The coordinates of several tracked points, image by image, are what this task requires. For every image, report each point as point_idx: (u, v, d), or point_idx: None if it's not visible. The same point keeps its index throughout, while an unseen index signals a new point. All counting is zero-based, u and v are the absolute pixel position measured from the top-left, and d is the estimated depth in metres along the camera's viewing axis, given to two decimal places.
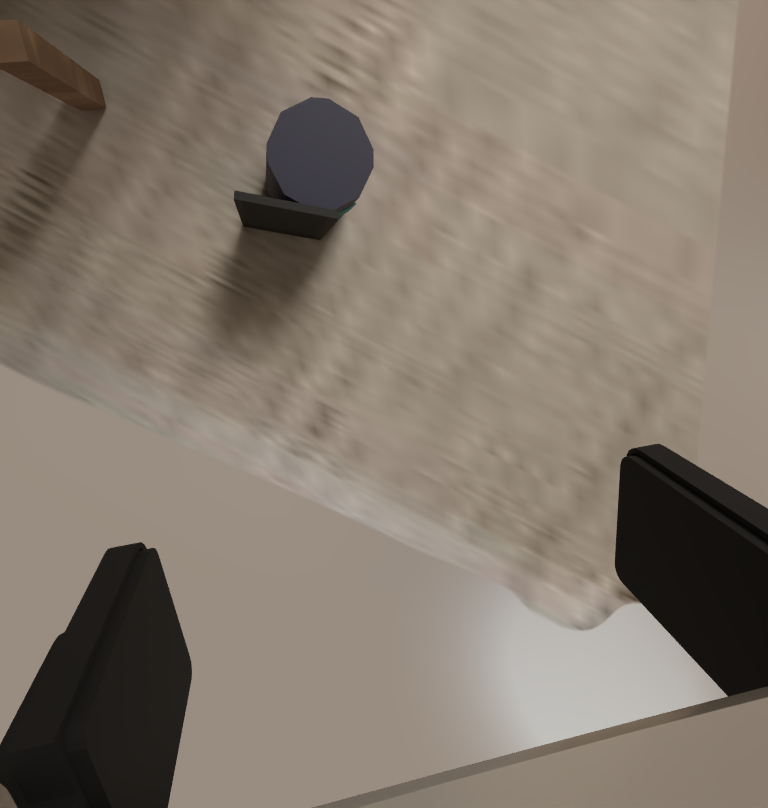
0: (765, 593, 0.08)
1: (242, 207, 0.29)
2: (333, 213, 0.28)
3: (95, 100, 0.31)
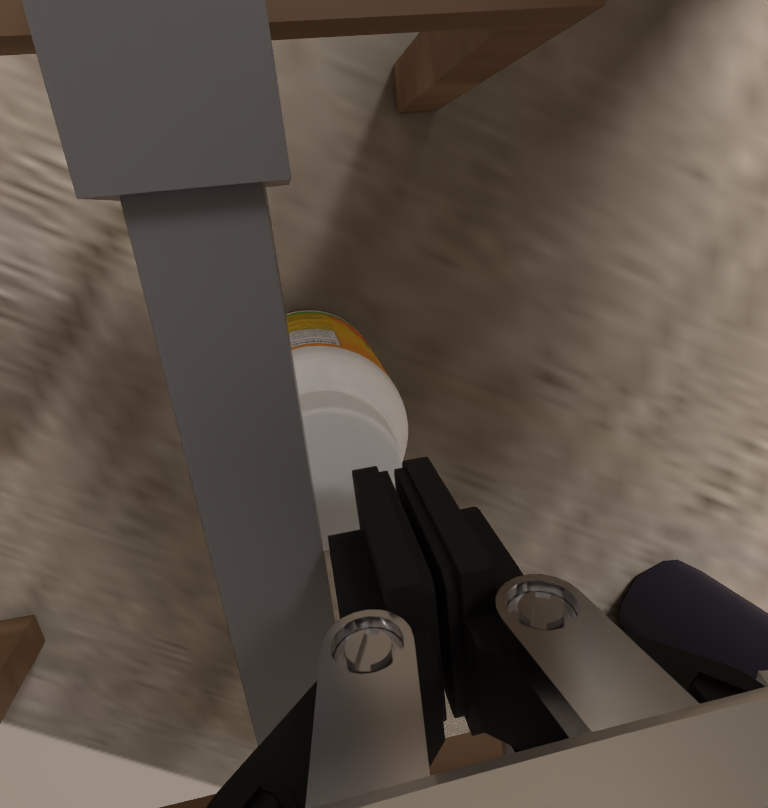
0: (442, 600, 0.08)
1: None
2: None
3: None
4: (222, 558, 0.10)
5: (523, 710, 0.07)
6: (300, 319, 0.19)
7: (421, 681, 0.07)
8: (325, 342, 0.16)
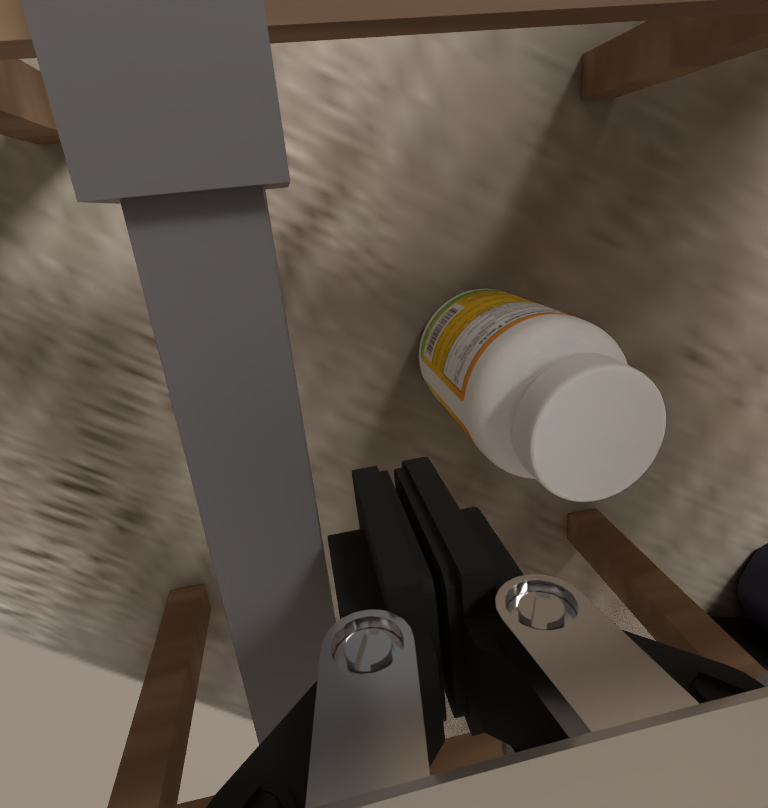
0: (442, 600, 0.08)
1: None
2: None
3: None
4: (223, 559, 0.10)
5: (524, 711, 0.07)
6: (493, 295, 0.20)
7: (421, 681, 0.07)
8: (554, 311, 0.17)
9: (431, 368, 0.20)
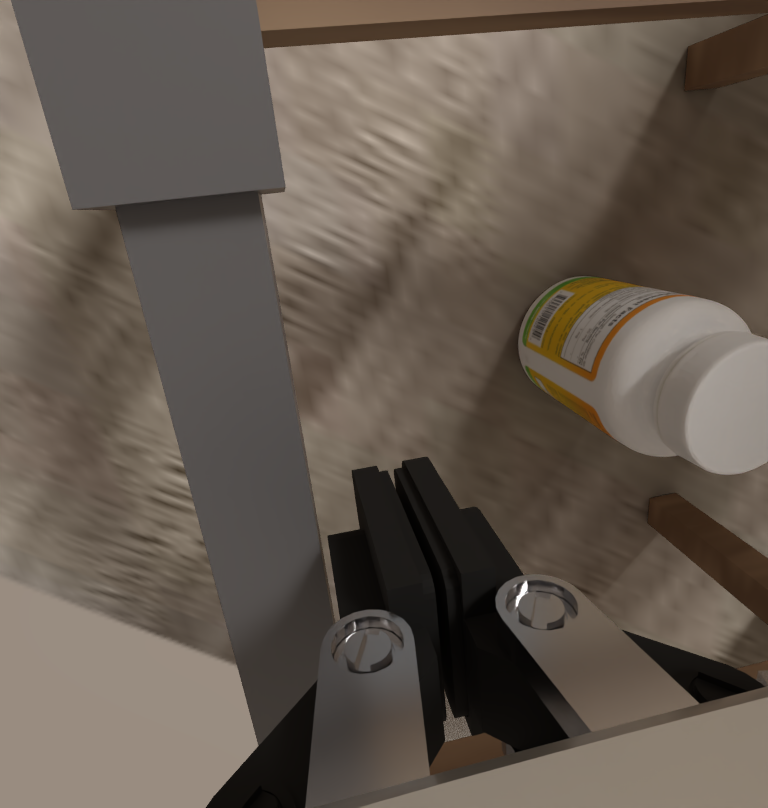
0: (442, 600, 0.08)
1: None
2: None
3: None
4: (221, 565, 0.10)
5: (523, 711, 0.07)
6: (601, 281, 0.21)
7: (421, 681, 0.07)
8: (681, 294, 0.17)
9: (540, 353, 0.21)
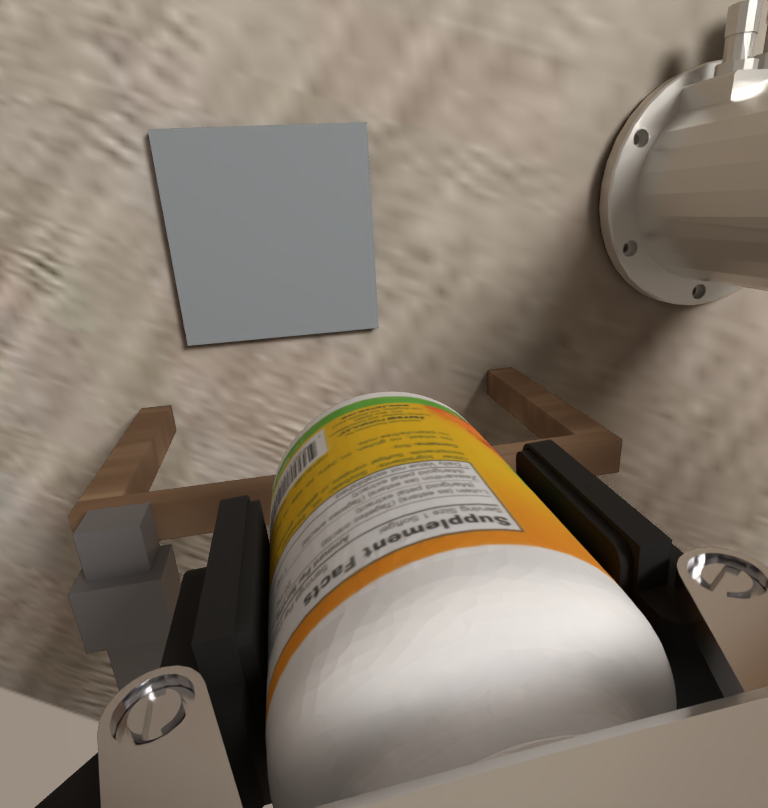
0: None
1: None
2: None
3: None
4: None
5: (709, 680, 0.07)
6: (386, 423, 0.10)
7: None
8: (486, 523, 0.07)
9: None
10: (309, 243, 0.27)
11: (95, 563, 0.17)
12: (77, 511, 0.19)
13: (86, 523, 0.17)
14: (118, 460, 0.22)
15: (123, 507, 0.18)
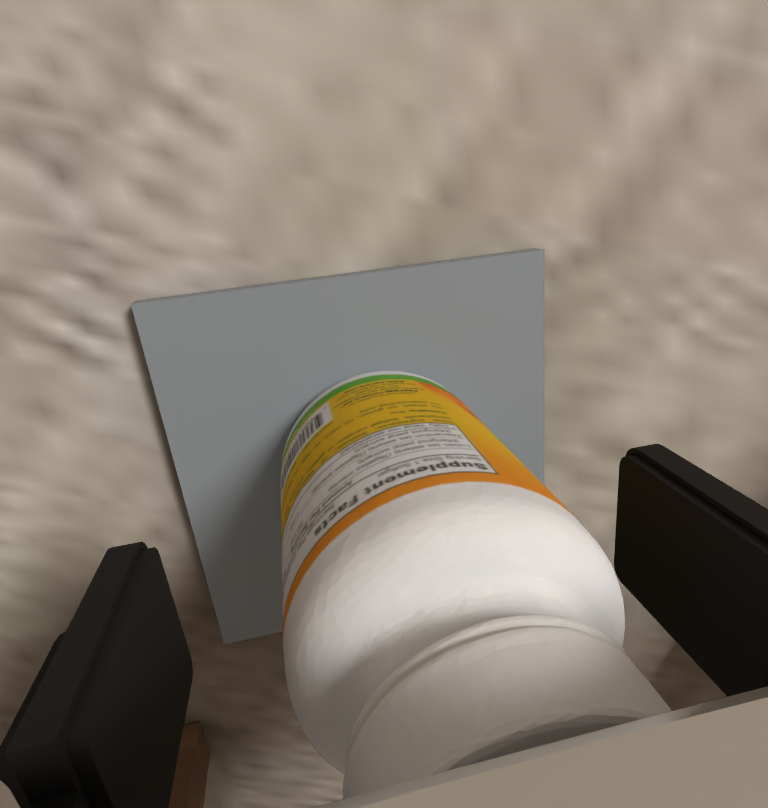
0: (764, 593, 0.08)
1: None
2: None
3: None
4: None
5: None
6: (384, 395, 0.12)
7: None
8: (467, 467, 0.08)
9: None
10: None
11: None
12: None
13: None
14: None
15: None
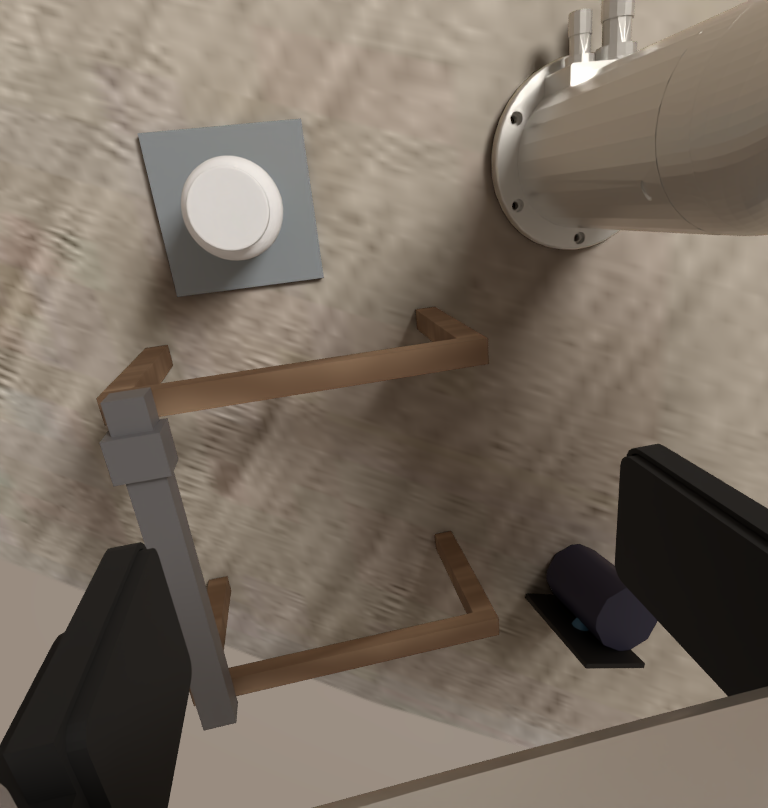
0: (765, 593, 0.08)
1: None
2: (641, 665, 0.43)
3: None
4: None
5: None
6: None
7: None
8: None
9: None
10: None
11: (116, 423, 0.26)
12: (102, 396, 0.27)
13: (108, 398, 0.26)
14: (129, 373, 0.31)
15: (132, 390, 0.27)
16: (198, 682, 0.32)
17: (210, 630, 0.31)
